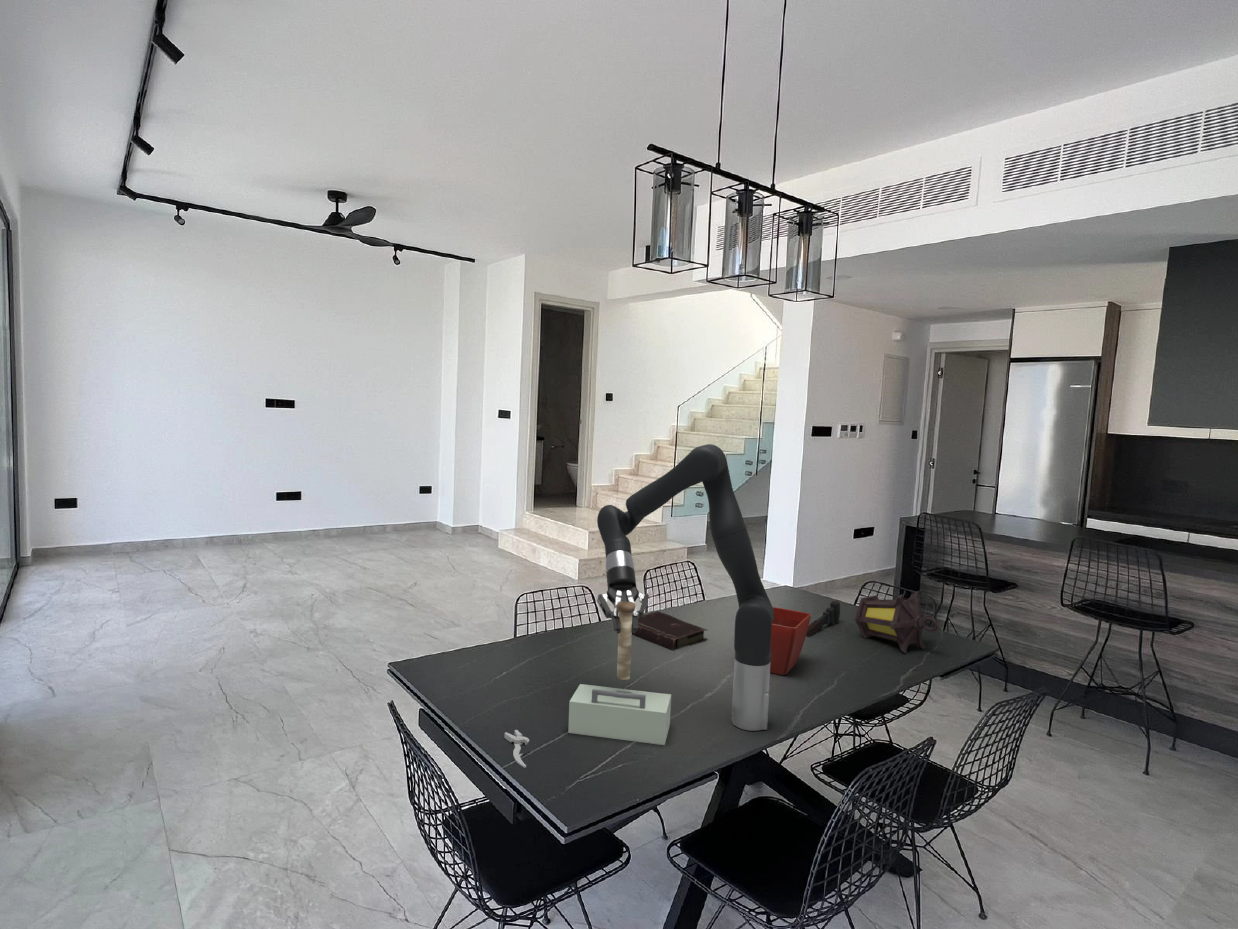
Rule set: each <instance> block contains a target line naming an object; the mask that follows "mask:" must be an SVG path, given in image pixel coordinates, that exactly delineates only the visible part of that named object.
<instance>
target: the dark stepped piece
mask: <svg viewBox="0 0 1238 929" xmlns="http://www.w3.org/2000/svg"><path fill="white" fill-rule="evenodd" d="M829 605H830V607H827V608H826V609H825V611H823V612H822V615H821V616H820V617H819V618H817V619H815V620H814V621H813V622H811V623H809V626H808V630H807V634H806V637H808V638H810V637H811V636H812V635H813V634H815V633H816V632H817V631H821V630H822V629H824V626H825V625H827V626H828V625H829V626H834V627H835V624H836V625H839V624H840V622H839V621H840V616H841V603H840V601H834V600H833V601H832V602H830V604H829Z"/></svg>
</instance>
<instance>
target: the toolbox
mask: <svg viewBox="0 0 1238 929" xmlns="http://www.w3.org/2000/svg"><path fill="white" fill-rule="evenodd" d="M568 703H569V704H568V705H569V706H568V728H567V729H568V731H567V732H568V733H569V734H574V735H575V734H576V735H582V736H591V737H598V738H605V739H606V738H607V739H614V740H621V741H629V742H637V743H646V744H653V745H658V746H659V745H660V746H665V745H666V741H667V737H668V735H669V730H670V726H671V712H672V711H671V709H672V694H671V693H660V692H653V691H652V692H651V691H645V690H644V691H643V690H634V689H627V688H626V689H625V688H618V687H617V688H616V687H609V686H601V685H600V686H599V685H594V684H593V685H591V684H583V683H582V684H581V683H580V684H579V685H578V687H577V689H576V690H575V692H574V693H573V695H572V697H571V698H570V700H569V702H568Z"/></svg>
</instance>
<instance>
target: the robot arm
mask: <svg viewBox="0 0 1238 929" xmlns="http://www.w3.org/2000/svg"><path fill="white" fill-rule="evenodd" d="M700 483H702V485H703V487H704V490H705V493H706V496H707V501H708V512H709V516H708V517H709V527H710V534H711V537H712V541H713V543H714V547H715V550H716V553H717V556H718V557H719V560H720V562H721V564H722V565H723V567H724V569H725V571H726V572H727V573H728V575H729V578H730V579H731V581H732V583H733V587H734V590H735V593H736V598H737V602H738V609H737V611H736V615H735V622H734V637H733V638H734V640H733V642H734V643H733V648H734V668H733V684H732V687H733V688H732V702H731V703H732V704H731V720H730V721H731V723H732V724H733V726H734V727H737V728H738V729H741V730H745V731H753V732H756V731H761V730H762V731H763V730H765V731H767V730H768V721H769V719H768V718H769V701H770V677H771V672H770V662H771V649H770V645H771V628H772V623H773V620H774V611H773V607H774V606H773V605H772V603H771V600H770V598H769V596H768V594H767V591H766V589H765V587H764V584H763V582H762V579H761V576H760V573H759V569H758V566H757V565H758V564H757V560H756V557H755V553H754V549H753V545H752V542H751V538H750V535H749V532H748V529H747V526H746V523H745V520H744V518H743V517H744V516H743V515H742V512H741V509H740V506H739V502H738V500H737V497H736V494H735V492H734V489H733V484H732V479H731V475H730V470H729V465H728V460H727V456H726V455H725V453H724V451H723V449H721V448H720V447H719V446H717V445H715V444H713V443H712V444H711V443H708V444H703V445H700V446H696V447H694V448H693V449H692V450H691V451H690V452H689V453H688V454H686V456H685V457H684V458H683V459H682V460H680V461H679V462H678V464H676V465H675V466H674V467H673V468H671V469H670V470H669V471H668V472H666V473H665V474H663V475H661V477H658V478H657V479H655V480H653V481H652V482H650V483H649V484H647V485H646V486H644V487H642V488H641V489H639V490H638V491H636V492H635V493H633V494H632V495H630V496H629V497H628V498H627V499H626V501H625V507H626V510H627V511H623V510H622V509H620V508H619V507H617V506H615V505H613V504H606V505H604V506H602V508H600V510H599V512H598V514H597V518H596V519H597V520H596V522H597V528H598V531H599V533H600V534H599V535H600V538H601V540H602V542H603V544H604V551H605V573H606V583H607V591H606V593H604V594H601V593H599V594H598V596H597V600H596V601H597V604H598V605H599V607H600V609H601V611H602V613H603V615H604V617H605V618H606V619H611V620H612V623H613V624H612V625H613V630H614V632H616V634H618V633H620V631H621V628H620V618H619V611H618V610H617V603H618V602H622V601H628V602H633V603H634V604H635V605H636V601H637V599H639V603H640V604H641V605H640V609H639V610H637V608H636V606H635V610H634V611H633V614H632V633H636V631H637V629H638V618H642V617H643V615H645V610H646V607H647V604H648V600H649V597H650V594H649V593H645V594H644V593H641V592H640V591H639V590H638V588H637V582H636V581H637V580H636V573H635V571H636V570H635V564H634V559H633V554H632V546H631V541H630V539H629V538H628V537H627V536H628V535H629V534H630V533H632V532H633V531H634V530H635V529H636V527H637V526H638V525H639V524H640V523H641V522H642V521H643V519H644V518H646V517H647V516H649V515H651V514H652V513H654V512H655V511H657V510H658V509H660V508H661V507H663V506H664V505H665V504H667V503H668V502H670V501H671V499H673V498H674V497H675V496H677V495H679V494H680V493H682V492H683V491H685V490H686V489H688V488H690V487H693V486H695V485H698V484H700ZM608 601H609V602H610V603H612V605H613V609H612V610H613V611H612V610H611V608H610V606H609V605H608Z"/></svg>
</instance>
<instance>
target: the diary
mask: <svg viewBox="0 0 1238 929" xmlns="http://www.w3.org/2000/svg"><path fill="white" fill-rule="evenodd" d="M705 631H708V629H707V628H705V627H701V626H698V625H696V624H692V623H689V622H687V621H683V620H682V619H679V618H677V617H675V616H673V615H670V614H668V613H664V612H661V611H653V612H649V613H648V612H647V613H644V614H643V617H642V618H638V629H637V631H636V633H632V636H636V637H639V638H641V639H643V640H645V641H648V642H650V643H653V644H655V645H657V646H661V647H663V648H666V649H667V650H670V651H675V649H676V650H677V648H678V649H680V648H683V647H686V646H689V647H690V646H694V645H698V644H700V643H703V642H706V641H707V640H708V638H704V636H705V634H704V633H705Z"/></svg>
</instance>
